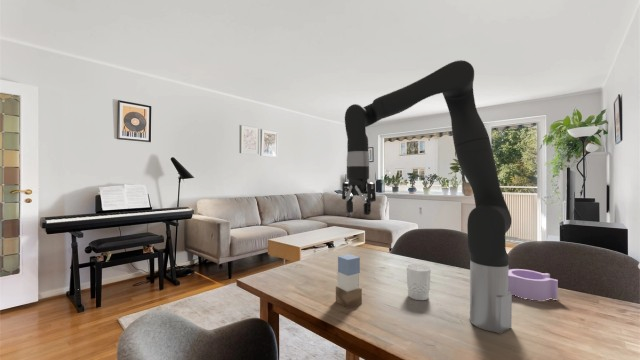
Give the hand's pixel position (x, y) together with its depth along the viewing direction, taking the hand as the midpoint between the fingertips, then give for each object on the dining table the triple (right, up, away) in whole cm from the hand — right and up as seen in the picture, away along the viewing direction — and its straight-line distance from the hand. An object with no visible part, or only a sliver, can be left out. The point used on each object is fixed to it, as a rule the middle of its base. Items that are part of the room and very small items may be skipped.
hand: (358, 213), depth 100 cm
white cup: (+21, -29, +1) cm, 35 cm away
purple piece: (+57, -29, +4) cm, 64 cm away
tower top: (-4, -24, -4) cm, 24 cm away
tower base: (-4, -29, -4) cm, 29 cm away
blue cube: (-4, -19, -4) cm, 19 cm away
